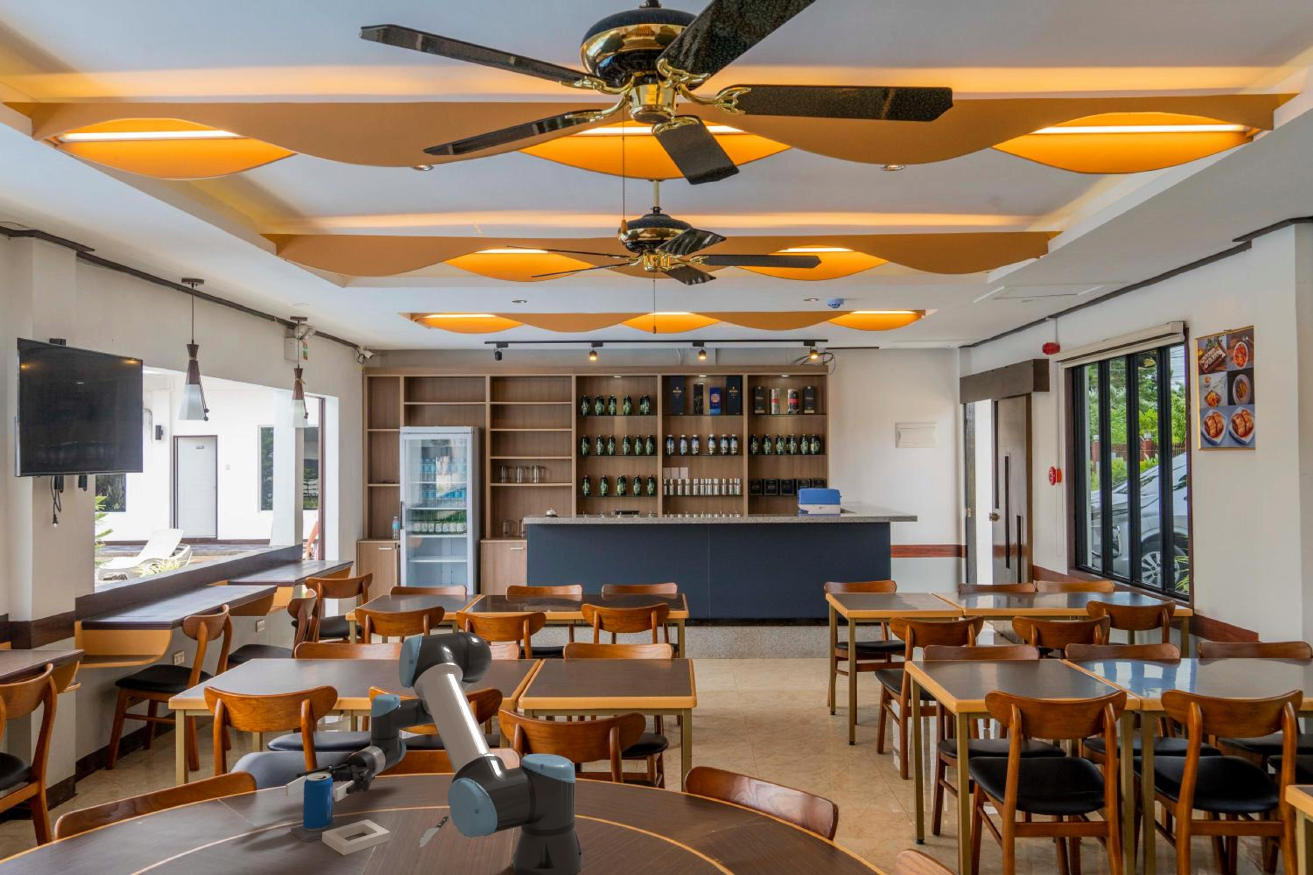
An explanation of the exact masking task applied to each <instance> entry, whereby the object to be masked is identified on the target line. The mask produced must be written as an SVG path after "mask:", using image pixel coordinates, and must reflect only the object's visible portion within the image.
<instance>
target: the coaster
mask: <svg viewBox="0 0 1313 875" xmlns="http://www.w3.org/2000/svg"><path fill="white" fill-rule="evenodd" d="M342 826H343V825H341V824H339V823H337V822H336V821H335V820H333V819H332V823H331V824H330V825H329V826H328V827H327V828H326V829H323V830H320V831H308V830H307V829H306V828H304V827H303V823H302V824H298V825H295V826H291V827H290V832H291V833H292V834H293V833H294V834H293V835H294V836H296V837H298V838H299V839H301V840H302V841H304V842H305V843H309V842H313V841H315V840H319V839H322V832H325V831H329V830H332V829H335V828H339V827H342Z"/></svg>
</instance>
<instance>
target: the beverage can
mask: <svg viewBox="0 0 1313 875" xmlns="http://www.w3.org/2000/svg"><path fill="white" fill-rule="evenodd" d="M333 779H334V778H333ZM333 779H332V777H331V774H330V773H327V772H320V773H314V774H310V775H308V776H307V777H306V781H305V782H304V789H303V813H302V814H303V816H302V818H303V821H302V824H303V827H304V828H306V829H307V830H308V831H320V830H323V829H326V828H327V827H328V826H329V825H330V824H331V823H332V820H333V800H334V799H333V798H334V796H333V792H334V789H333V788H334V784H333V783H334V782H333Z"/></svg>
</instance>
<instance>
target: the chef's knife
mask: <svg viewBox="0 0 1313 875" xmlns="http://www.w3.org/2000/svg"><path fill="white" fill-rule="evenodd" d="M447 819H449V816H447V815H446V816H444V817H442V820H441V821H440V822H439V823H438V824H437V825H436V826H435V827H430V828H428V830H425V832H424V833H425V834H424V833H423V835H422V836H424V837H421V838H420V839H419V841H418V844H419V843H420V845H419V848H421V847H424V846H425V845H427V843H428V842H429V841H430V840H431V839H432V838H433V837H434V836H435V835H436V834H437V832H438V831H440V829H441V828H442V827H443V826H444V824H445V823H447V821H448V820H447ZM441 826H442V827H441ZM435 833H436V834H435ZM434 834H435V835H434ZM432 836H433V837H432ZM421 849H422V848H421Z"/></svg>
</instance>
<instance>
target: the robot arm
mask: <svg viewBox="0 0 1313 875" xmlns="http://www.w3.org/2000/svg"><path fill="white" fill-rule="evenodd" d="M492 658H493V655H492V650H491V647H490V645H489V644H488V643H487V641H486V640H485V639H484V638H483V637H482V636H480V635H478V634H476V633H475V632H474V633H473V632H470V631H458V632H457V631H456V632H448V633H447V632H446V633H437V634H435V633H434V634H426V635H424V634H423V635H422V634H420V635H418V636H413V637H412V636H411V637H409V638H406V639H405V640H404V641H403V643H402V645H401V649H400V652H399V659H398V677H399V683H400V685H401V686H402V687H403V688H407V689H410V688H411V687H412V688H413V691H414V692H415V693H414V694H415V695H416V696H417V697H416V698H411V699H410V698H409V699H402V700H401V697H400V695H399V694H397V693H396V694H395V693H383V694H379V695H378V694H377V695H376V696H374V697H373V698H372V700H371V708H370V745H369V746H367V747H365V748H363V749H361V750H358V751H357V752H356V753H354V754H351V755H349V756H348V757H347V758H346V759H345V761H344V762H343V764H340V765H339V766H334V765H333V763H330V764H328V765H325V766H322V767H318V768H313V769H310V770H306V771H303V772H298V773H296V778H295V780H292V781H291V782H288V783H286V784H285V797H290V796H291V795H294V794H296V793H297V792H300V791H301V790H304V782H305V781H306V777H307V776H308V775H310V774H314V773H320V772H327V773H330V774H331V777H332V779H333V783H337V782H341V783H342V782H346V783H344V784H342V785H341V786H338V787H337V788H335V789H334V802H336V803H337V802H339V801H341V800H343V799H344V798H346V797H348V796H349V795H351V794H353V793H355V792H356V793H357V792H360V791H361V790H362V791H363V792H368V791H369V789H370V787H371V784H372V782H373V781H374V780H375V779H376V776H377V775H378V774H379V773H382V772H384V771H386V770H388V769H389V768H391V767H392V768H393V767H394V766H395V765H396V764H398V763H399V762H400V761H402V760H403V759H404V757H405V755H406V753H407V745H406V743H405V741H404V739H403V738H402V737H400V730H401V729H407V728H412V727H415V728H416V727H420V726H421V727H422V726H425V725H426V726H427V725H433V724H435V728H436V729H437V730H436V731H437V732H438V734H439V738H440V740H441V742H442V745H443V747H444V750H445V753H446V755H447V757H448V759H449V762H450V765H451V767H452V770H453V772H454V774H453V776H452V778H451V783H450V786H449V789H448V791H447V792H448V793H447V804H448V806H449V814H450V818H451V820H452V822H453V825H454V826H455V828H456V830H457V831H458V832H459V833H460V834H461V835H463V836H464V837H467V838H478V837H487V836H491V835H493V834H495V833H499V832H502V831H503V832H504V831H507V830H510V829H515V828H518V827H520V834H519V837H518V840H517V844H516V847H515V851H514V853H513V857H512V871H513V873H514V874H515V875H576V874H578V873H579V872H580V871H581V870H582V869H583V865H584V863H583V862H584V857H583V856H584V855H583V851H582V849H581V845H580V841H579V837H578V834H577V831H576V827H575V826H576V822H575V821H576V819H575V818H576V811H575V810H576V802H575V801H576V782H577V781H576V770H575V765H574V763H573V762H572V761H571V760H570V759H568V758H566V757H564V756H561V755H558V754H552V753H551V754H549V753H532V754H531V753H530V754H527V755H525V756H523V757H522V758H521V761H520V765H521V766H517V767H513V768H507V767H506V765H505V762H504V761H503V758H502V757H501V756H499V755H497V754H493V753H492V752H491V749H490V746H489V745H488V743H487V740H486V737H485V736H484V733H483V731H482V729H481V727H480V724H479V722H478V720H477V717H476V715H475V713H474V711H473V709H472V706H471V704H470V702H469V700H468V698H467V695H466V691H467V689H469V688H470V686H471V685H472V684H476V683H479V682H480V681H481V680H482V679H483V678H484V677H485V676H486V675H487V673H489V671H490V669H491V666H492V661H493V659H492ZM334 777H335V778H334Z"/></svg>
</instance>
